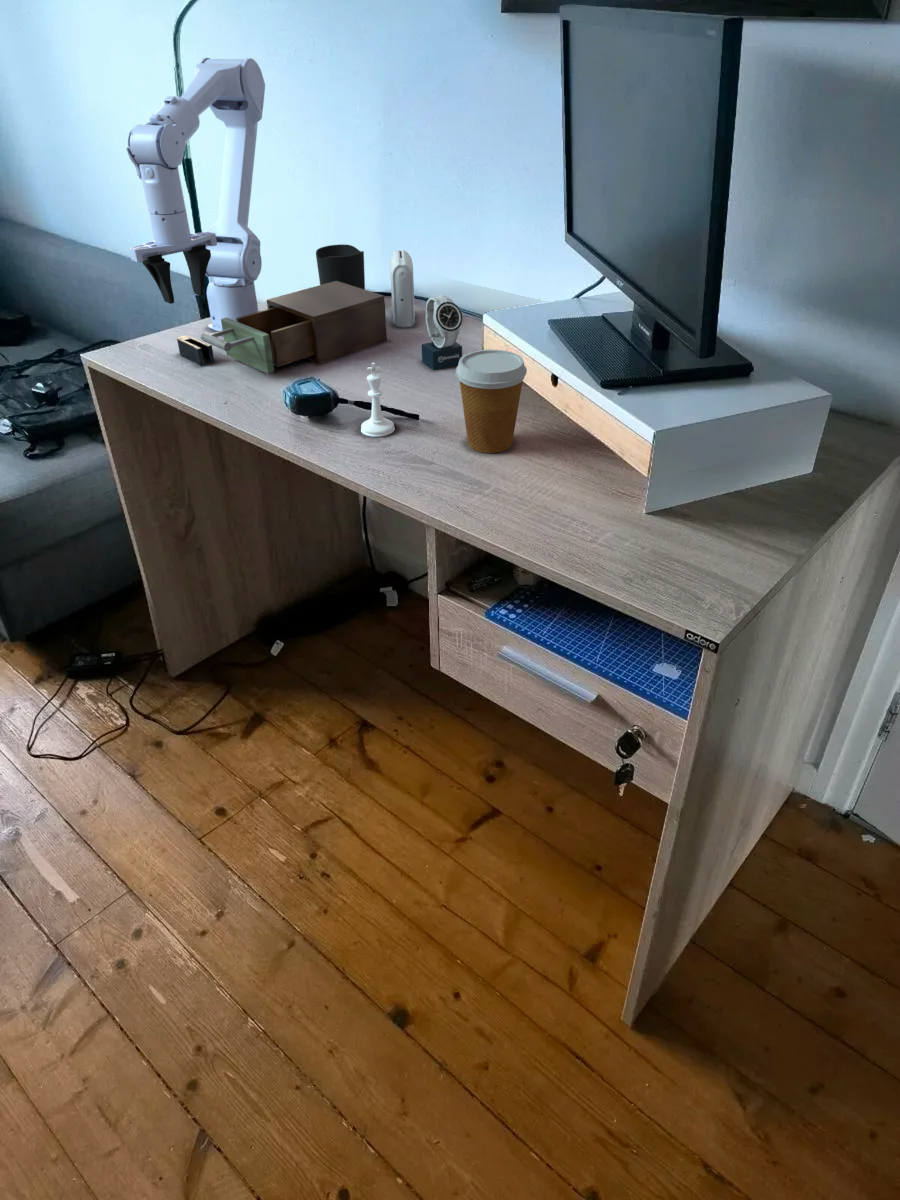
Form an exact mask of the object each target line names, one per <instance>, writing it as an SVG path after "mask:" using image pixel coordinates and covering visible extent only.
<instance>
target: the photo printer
mask: <svg viewBox="0 0 900 1200" xmlns="http://www.w3.org/2000/svg"><path fill="white" fill-rule="evenodd" d="M412 259H413V258H412V257H411V255H410V253H409V252H408V251H406V250H405V249H402V250H399V249H397V250H395V251H394V252H393V253H392V254H391V256H390V258H389V273H390V274H389V275H390V288H391V290H390V291H391V311H392V312H391V313H392V321H393V325H394V326H395V327H397V328H411V327H412V326H414V325H415V320H416V319H415V318H416V313H415V311H416V309H415V282H414V263H413V260H412Z"/></svg>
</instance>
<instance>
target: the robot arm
mask: <svg viewBox="0 0 900 1200" xmlns="http://www.w3.org/2000/svg"><path fill="white" fill-rule="evenodd" d="M265 90H266V83H265V80H264V75H263V72H262V70H261V67H260V66H259V64H258V62H257V61H256V60H255V59H254V58H252V57H248V58H244V59H242V58H240V59H239V58H238V59H236V58H234V59H233V58H210V57H203V58H201V60H199V62H198V63H197V64H196V65H195V66H194V78H193V79H192V81H191V82H190V84H189V85H188V86H187V88H186V89H185V90H184V92H183V93H182V94H181V96H177V95H167V96H166V97H164V99H163V104H162V105H161V106H160V107H159V108H158V109H157V111H156V112H155V113H152V114H151V115H150V116H149V119H148V120H147V121H146V123H145V124H136V125H135V126H133V127H132V129H130V131H129V133H128V134H127V147H126V152H127V155H128V157H129V159H130V161H131V162H132V164H133V165H134V167H135V171H136V175H137V176H138V178H139V180H141V183H142V186H143V191H144V197H145V201H146V206H147V210H148V211H147V212H148V215H149V220H150V226H151V230H152V234H153V239H154V240H150V241H147V242H145V243H142V244H139V245H136V246H131V247H129V249H128V251H129V254H130V259H131V261H132V262H135V263H138V264H139V263H142V265H143V266H144V267H145V268H146V270H147V271H148V272H149V274H150V275H151V277H152V278H153V280H154V282H155V283H156V286H157V287H158V290H159V291H160V293H161V294H160V295H161V296H162V299H163V301H164V302H165V303H168V304H171V305H172V304H175V296H174V290H173V287H172V280H171V279H172V278H171V263H170V262H169V261H166V260H165V258H164V256H169V255H174V254H178V253H182V254H183V257H184V259H185V262H186V266H187V268H188V272H189V276H190V282H191V287H192V290H193V293H194V295H197V296H200V297H203V296H205V282H206V277H207V278H208V279H209V283H208V285H207V287H206V299H207V304H208V310H209V315H210V321H211V323H210V324H208V325H207V327H208V329H211V330H213V331H215V332H218V331H222V330H223V329H222V324H221V319H223V318H229V319H232V320H234V321H236V318H237V317H240V316H244V315H247V314H251V313H255V312H258V311H259V305H258V300H257V299H258V298H257V292H256V285H255V281H257V280H258V278H259V276H260V274H261V272H262V267H263V266H262V265H263V263H262V256H261V240H260V238H259V237H258V236H257V235H256V234H255V233H254V232H253V231H252V229H250V228H249V219H250V206H251V196H252V188H253V187H252V186H253V178H254V177H253V176H254V167H255V157H256V156H255V155H256V145H257V135H258V125H259V124H258V123H259V122H260V121H261V120H262V119H263V110H264V103H265V94H266V93H265V92H266V91H265ZM209 108H210V110H211V112H212V113H213V115H214V116H215V118H216V119H218V120H219V121H221V122H222V123H223V124H224V126H225V139H224V147H223V148H224V150H223V160H222V171H221V179H220V180H221V181H220V191H219V202H218V215H217V221H215V223H213V224H212V225H211V226H210V227H208V228H207V229H206V230H205V231H203V232H195V233H191V230H190V229H191V228H190V225H189V218H188V214H187V208H186V202H185V197H184V191H183V185H182V181H181V180H182V179H181V175H180V170H179V166H181V165H182V163H183V160H184V151H185V149H186V146H187V143H188V142H189V141H190V140H191V138H192V137H193V136H194V135H195V134H196V132H197V131H198V130H199V128H200V122H201V121H200V120H201V119H200V116H201V115H202V114H203V113H204V112H205V111H206V110H207V109H209Z"/></svg>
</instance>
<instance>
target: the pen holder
mask: <svg viewBox="0 0 900 1200" xmlns="http://www.w3.org/2000/svg"><path fill="white" fill-rule="evenodd" d="M315 258H316V265H317V266H316V267H317V273H318V279H319V285H323V284H326V283H330V282H334V281H339V282H342V283H345V284H348V285H351V286H355V287H358V288H361V289H364V290H366V278H365V252H364V250H362V251H361V250H359V249H358V248H357V247H355V246H354V245H351V244H343V243H342V244H330V245H326V246H325V245H324V246H322V247H320V248H317V249H316V251H315Z"/></svg>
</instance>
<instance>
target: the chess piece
mask: <svg viewBox="0 0 900 1200" xmlns="http://www.w3.org/2000/svg"><path fill="white" fill-rule="evenodd" d="M366 369H367V372H371V374H368V375H367V376H366V380H367V382H368V384H369V387H370V390H368V391H367V396H368V397H371V398H372V399H371V415H370V417H369V419H366V420H365V421H363V422H362V423H361V425H360V432H361V433H362V434H363V435H365V436H367V437H374V438H379V437H380V438H381V437H385V436H389V435H391V434H393V433H394V431H395V430H396V429H395V424H394V422H393V421H392V420H390V419H388V418H385V416H384V415H383V412H382V407H381V401H380V397H381V396H383V394H384V392H383V390H382V389H380V384H381V381H382V375H380V374H379V373H376V372H380V371H381V369H380V366H376V362H371V366H369V367H367V368H366Z"/></svg>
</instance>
